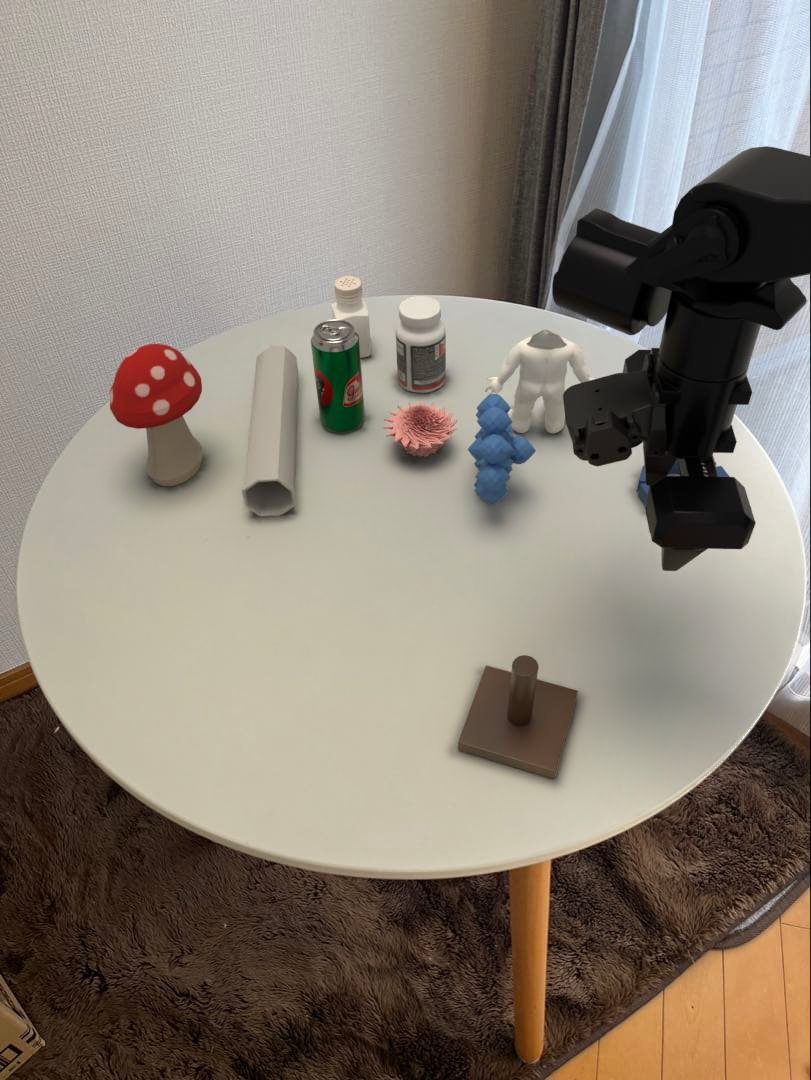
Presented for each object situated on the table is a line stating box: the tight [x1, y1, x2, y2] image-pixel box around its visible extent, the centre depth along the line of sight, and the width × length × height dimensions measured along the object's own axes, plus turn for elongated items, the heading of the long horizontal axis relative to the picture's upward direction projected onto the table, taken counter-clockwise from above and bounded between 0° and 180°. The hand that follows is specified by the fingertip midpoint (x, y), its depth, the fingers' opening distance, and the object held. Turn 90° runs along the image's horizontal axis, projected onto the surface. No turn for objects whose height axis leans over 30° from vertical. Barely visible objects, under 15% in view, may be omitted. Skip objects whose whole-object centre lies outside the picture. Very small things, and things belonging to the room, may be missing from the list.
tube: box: [241, 344, 299, 518], centre depth 98 cm, size 5×5×25 cm
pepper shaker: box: [330, 275, 372, 359], centre depth 108 cm, size 4×4×10 cm
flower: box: [382, 401, 458, 458], centre depth 96 cm, size 8×8×6 cm
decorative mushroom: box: [109, 343, 204, 487], centre depth 92 cm, size 10×9×15 cm
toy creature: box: [484, 329, 596, 434], centre depth 96 cm, size 12×6×12 cm, turn 87°
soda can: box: [310, 318, 366, 433], centre depth 98 cm, size 5×5×12 cm
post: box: [457, 654, 579, 780], centre depth 71 cm, size 8×8×8 cm
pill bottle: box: [395, 295, 447, 394], centre depth 103 cm, size 6×6×10 cm
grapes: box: [467, 393, 537, 506], centre depth 89 cm, size 12×7×12 cm, turn 177°
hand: (660, 525), depth 70 cm, fingers open, 9 cm apart
